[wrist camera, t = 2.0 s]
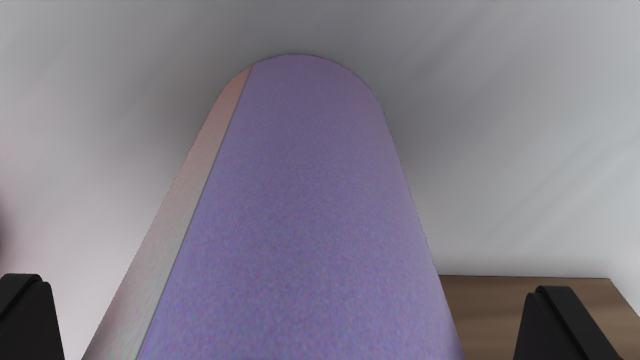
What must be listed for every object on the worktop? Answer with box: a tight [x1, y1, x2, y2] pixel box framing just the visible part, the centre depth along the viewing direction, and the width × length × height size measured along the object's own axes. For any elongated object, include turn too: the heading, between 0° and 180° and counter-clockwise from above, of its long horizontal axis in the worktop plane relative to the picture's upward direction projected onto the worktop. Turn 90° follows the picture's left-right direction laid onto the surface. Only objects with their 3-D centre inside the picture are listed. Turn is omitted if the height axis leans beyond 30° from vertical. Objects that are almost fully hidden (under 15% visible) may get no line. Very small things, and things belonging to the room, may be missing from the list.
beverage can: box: [81, 54, 466, 360], centre depth 13 cm, size 6×6×15 cm
